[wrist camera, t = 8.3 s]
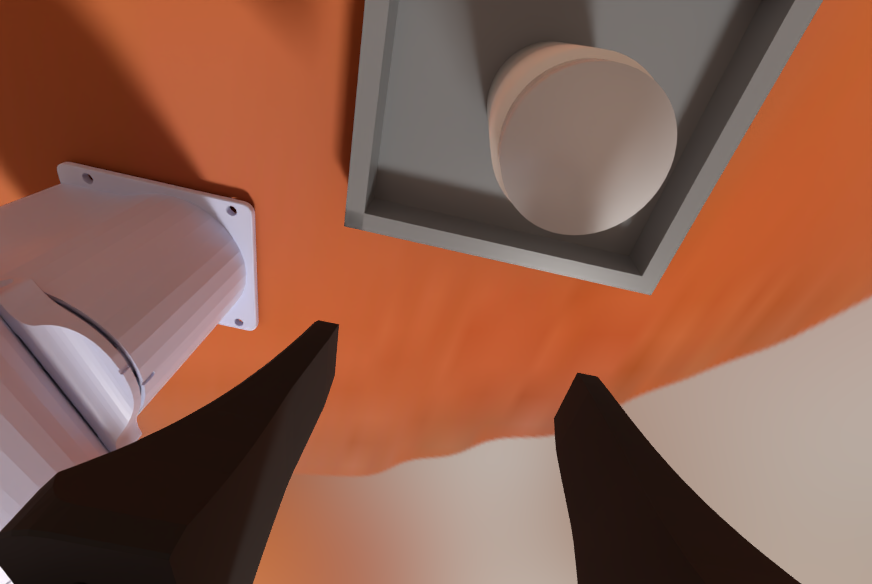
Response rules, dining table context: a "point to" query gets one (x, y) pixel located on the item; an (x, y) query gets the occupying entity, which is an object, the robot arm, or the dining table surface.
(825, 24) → the dining table surface
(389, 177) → the tray
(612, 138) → the shaker
